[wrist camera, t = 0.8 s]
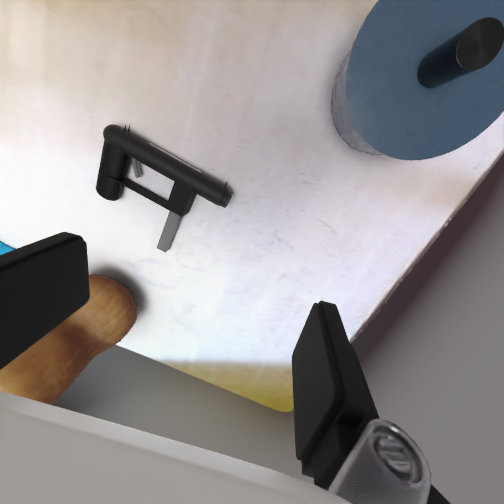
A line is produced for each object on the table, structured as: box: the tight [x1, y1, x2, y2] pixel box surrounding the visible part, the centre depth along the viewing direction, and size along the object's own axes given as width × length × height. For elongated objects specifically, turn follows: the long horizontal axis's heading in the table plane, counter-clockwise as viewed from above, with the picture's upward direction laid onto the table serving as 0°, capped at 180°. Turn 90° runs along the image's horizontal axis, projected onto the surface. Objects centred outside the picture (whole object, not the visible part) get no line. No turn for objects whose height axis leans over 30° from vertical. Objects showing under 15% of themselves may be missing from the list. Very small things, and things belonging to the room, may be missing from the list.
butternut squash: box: [0, 275, 138, 405], centre depth 36 cm, size 14×13×25 cm
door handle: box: [96, 125, 233, 252], centre depth 37 cm, size 3×20×16 cm
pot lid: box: [345, 0, 504, 160], centre depth 18 cm, size 15×15×6 cm
